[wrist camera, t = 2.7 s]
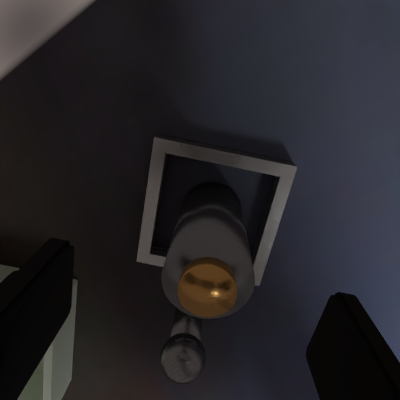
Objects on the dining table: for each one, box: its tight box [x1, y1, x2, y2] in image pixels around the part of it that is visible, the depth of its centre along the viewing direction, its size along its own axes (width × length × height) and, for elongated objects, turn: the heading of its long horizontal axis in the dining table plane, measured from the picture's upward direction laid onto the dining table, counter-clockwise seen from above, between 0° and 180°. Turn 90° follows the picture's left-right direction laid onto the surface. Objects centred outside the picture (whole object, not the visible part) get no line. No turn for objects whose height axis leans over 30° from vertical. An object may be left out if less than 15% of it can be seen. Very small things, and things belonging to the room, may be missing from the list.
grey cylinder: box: [161, 182, 255, 319], centre depth 16 cm, size 4×4×9 cm
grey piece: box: [136, 134, 297, 384], centre depth 18 cm, size 9×14×6 cm, turn 169°
